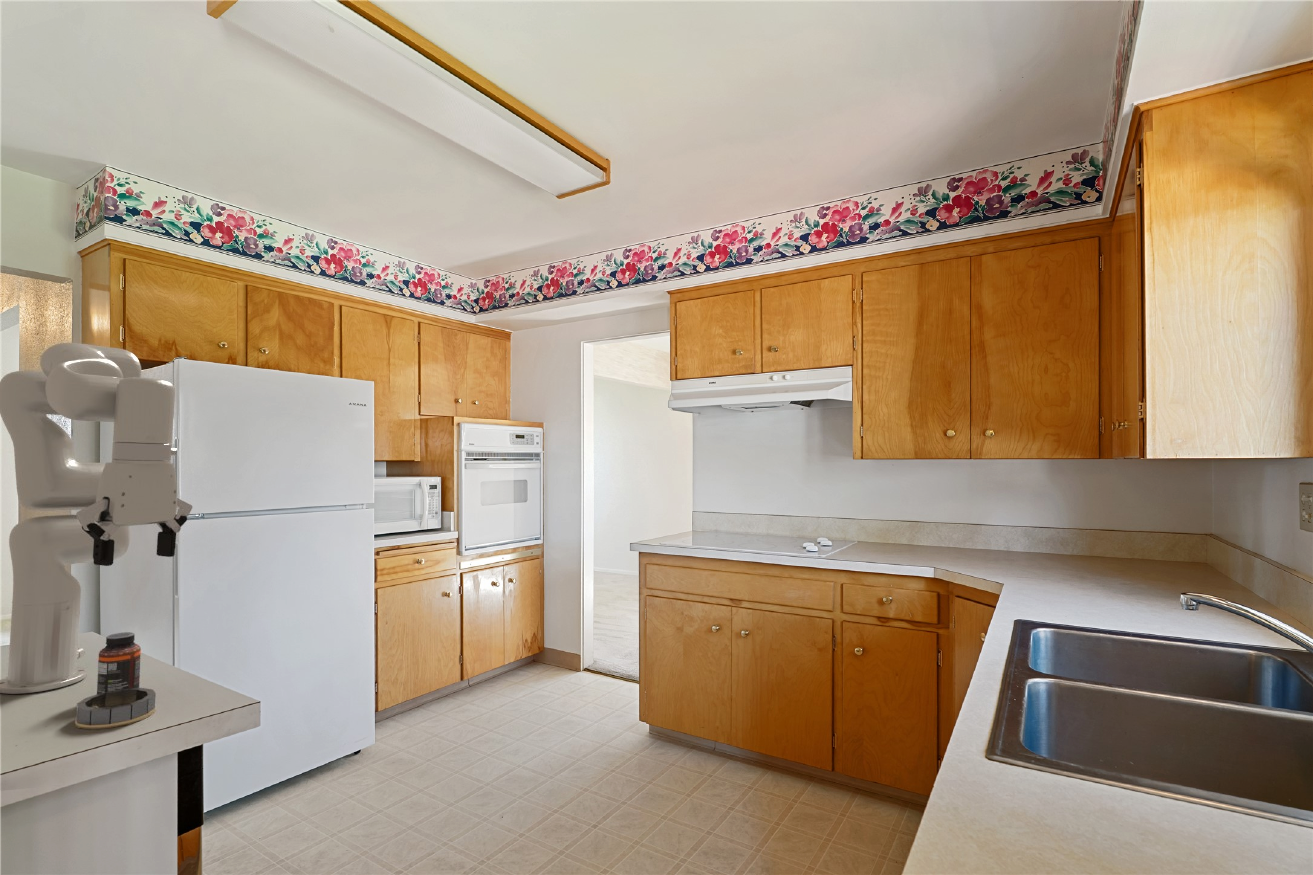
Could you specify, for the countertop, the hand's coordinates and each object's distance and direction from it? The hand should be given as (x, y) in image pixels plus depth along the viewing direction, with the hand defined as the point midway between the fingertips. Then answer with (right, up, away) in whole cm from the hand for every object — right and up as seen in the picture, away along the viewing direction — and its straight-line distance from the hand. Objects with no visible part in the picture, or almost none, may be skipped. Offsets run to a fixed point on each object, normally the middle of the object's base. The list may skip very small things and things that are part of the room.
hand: (135, 560), depth 105 cm
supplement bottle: (-13, -27, +12) cm, 33 cm away
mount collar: (-7, -27, +4) cm, 28 cm away
